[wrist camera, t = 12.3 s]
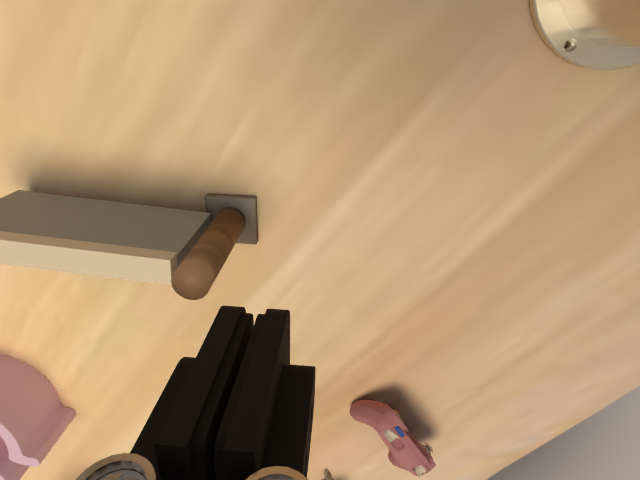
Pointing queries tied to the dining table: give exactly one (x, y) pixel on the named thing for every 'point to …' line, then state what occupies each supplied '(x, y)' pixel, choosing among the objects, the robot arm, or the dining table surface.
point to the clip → (27, 417)
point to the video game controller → (394, 436)
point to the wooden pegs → (216, 243)
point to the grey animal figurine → (327, 475)
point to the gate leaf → (96, 236)
